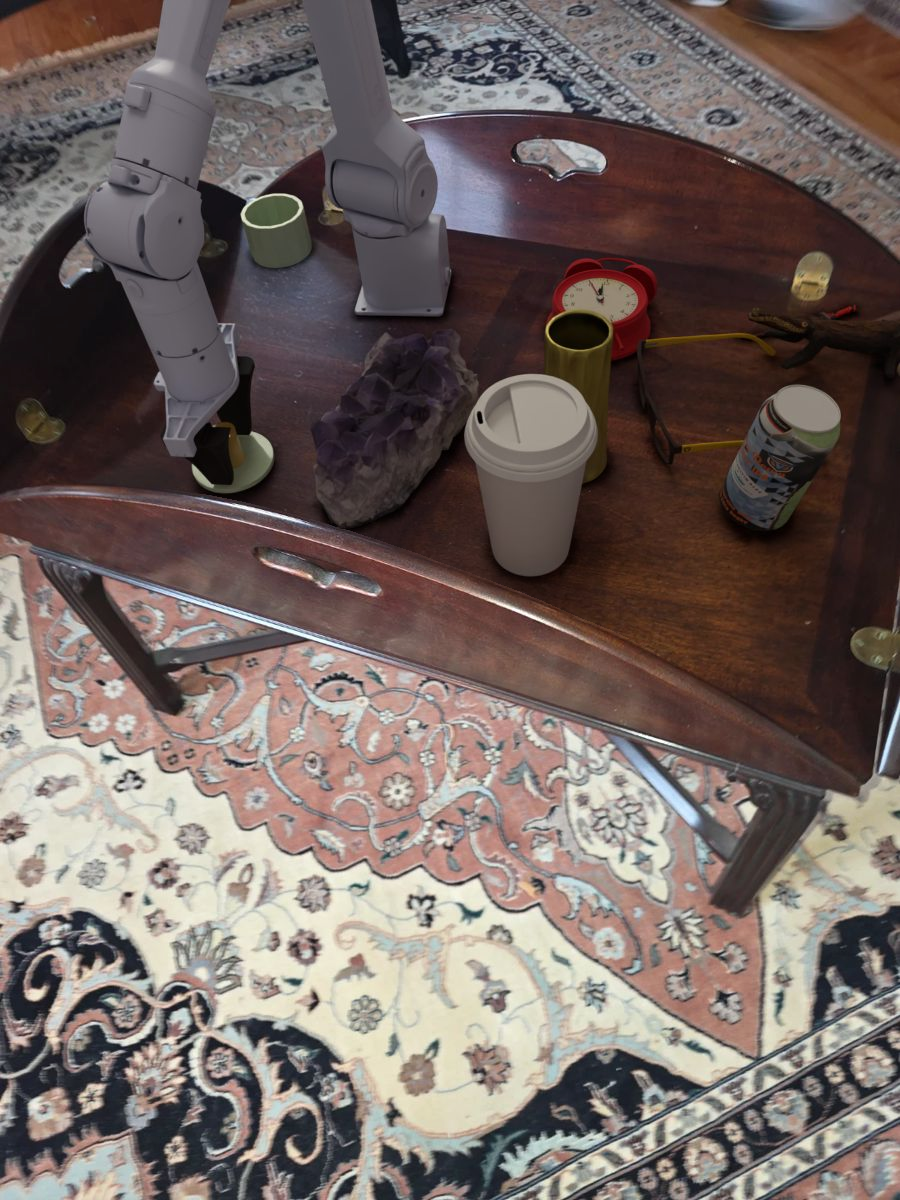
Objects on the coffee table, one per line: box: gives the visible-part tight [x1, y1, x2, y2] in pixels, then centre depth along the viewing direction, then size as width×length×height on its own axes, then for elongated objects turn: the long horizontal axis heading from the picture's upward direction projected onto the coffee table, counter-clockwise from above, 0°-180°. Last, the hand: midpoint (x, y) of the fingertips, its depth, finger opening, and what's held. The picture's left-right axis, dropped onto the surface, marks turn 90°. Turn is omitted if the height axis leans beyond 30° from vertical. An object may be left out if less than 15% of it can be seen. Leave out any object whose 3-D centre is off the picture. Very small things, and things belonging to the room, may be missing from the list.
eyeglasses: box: [636, 332, 777, 466], centre depth 79 cm, size 14×14×4 cm
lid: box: [191, 421, 275, 494], centre depth 80 cm, size 8×8×5 cm
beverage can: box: [718, 384, 842, 532], centre depth 69 cm, size 6×7×12 cm
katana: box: [743, 304, 858, 340], centre depth 87 cm, size 13×2×1 cm, turn 104°
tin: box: [240, 193, 313, 269], centre depth 100 cm, size 7×7×5 cm
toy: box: [747, 307, 900, 379], centre depth 82 cm, size 23×7×5 cm, turn 87°
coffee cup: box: [463, 373, 598, 577], centre depth 67 cm, size 10×10×15 cm
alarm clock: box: [545, 257, 659, 362], centre depth 88 cm, size 10×6×15 cm
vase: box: [543, 309, 613, 485], centre depth 73 cm, size 6×6×14 cm
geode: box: [309, 328, 480, 530], centre depth 77 cm, size 20×12×10 cm, turn 155°
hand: (231, 456), depth 80 cm, fingers open, 6 cm apart
